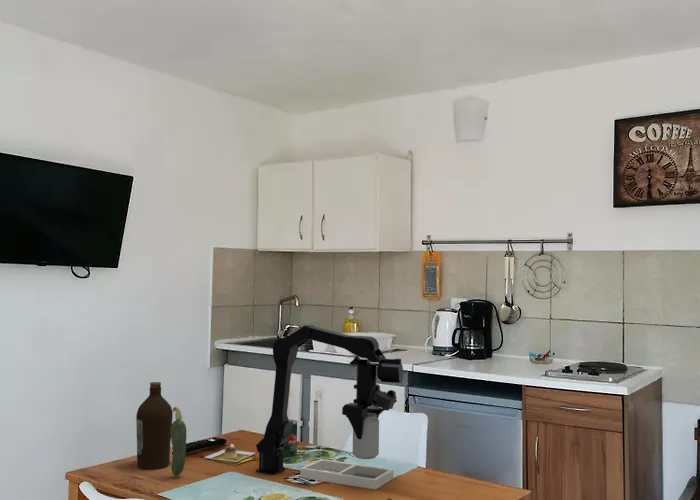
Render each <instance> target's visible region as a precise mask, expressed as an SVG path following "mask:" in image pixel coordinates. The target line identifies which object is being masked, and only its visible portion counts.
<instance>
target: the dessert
mask: <svg viewBox="0 0 700 500" xmlns="http://www.w3.org/2000/svg"><path fill="white" fill-rule="evenodd" d="M222 454H223V456H222V458H224V459H220V458H216V457H217V456H220V455H222ZM238 454H239V455H246V456H245V457H242V458H240V459H237V458H238ZM255 454H256V452H252V451H243V450H236V447H235V445H234V444H233V443H230V444H229V445H228V446H227V447H226V448H225V449H222V450H219V451H217V452H213V453H212V454H209V455H206V456H204V457H203V458H204V459H206V460H213V461H219V462H227V463H238V462H240V461H242V460H244V459H247V458H250V457H252V456H254V455H255ZM232 459H237V460H232Z"/></svg>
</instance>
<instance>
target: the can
mask: <svg viewBox="0 0 700 500" xmlns="http://www.w3.org/2000/svg"><path fill="white" fill-rule="evenodd" d="M366 415H369V416H368V417H367V418H366V419H365V420H364V425H363V433H362V439H357V436H356V434H355V432H354V430H353V429H352V455H353V456H354V457H355V459H360V460H372V459H376V457H377V456H379V454H380V453H379V452H380V451H379V450H380V419H379V417H378V418H377V414H374V413H367V414H366Z"/></svg>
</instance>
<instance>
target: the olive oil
mask: <svg viewBox="0 0 700 500" xmlns="http://www.w3.org/2000/svg"><path fill="white" fill-rule="evenodd" d="M161 386H162V383H161V382H160V381H152V382H150V383H149V395H148V396H147V398H145V400H144V401H143V402H142V403H141V404H140V405H139V407H138V409H137V412H136V417H135V419H136V425H135V426H136V467H137V468H138V469H140V470H146V471H150V470H151V471H152V470H153V471H155V470H160V469H164V468H165V469H166V468H167V467H168V466H169V465H170V458H171V455H170V454H171V444H172V442H171V425H172V423H173V419H174V418H173V417H174V415H173V413H174V412H173V408H172V406H171V404H170V403H169V402H168V401H167V400H166V399H165V398H164V397H163V395H162V387H161Z"/></svg>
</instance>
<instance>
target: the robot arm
mask: <svg viewBox="0 0 700 500" xmlns="http://www.w3.org/2000/svg"><path fill="white" fill-rule="evenodd" d="M309 340H310V341H315V342H318V343H322V344H326V345H330V346H334V347H337V348H342V349H344V350H346V351H348V352H349V353H351V354H353V355H355V356H354V358H353V359H352V360H351V361H350V362H349V365H350V366H356V384H353V389H355V390H356V393H355V394H356V396H355V397H356V398H354V399H353V402H349V403H345V404H344V405H343V406H342V407H341V408H342V409H341V414H342V415H343V416H345V417H346V418H347V420H348V422H349V423H350V425H351V428H352V431H353V430H354V432H355V434H356V436H357V439H362V433H363V425H364V420H365V419H366V418H367V417H368V416H369V415H366V414H367V413H374V414H377V418H378V419H379V418H380V415H382V413H383V412H385V411H390V410H393V408H394V406H395V404H396V403H397V402H398V400H397V399H398V398H397V393H396V391H395V390H393V389H389V390H388V391H387V392H386V391H383V390H381V386H380V384H377V383H378V382H377V381H378V380H380V382H381V383H391V384H402V383H403V380H404V375H405V374H404V372H405V371H404V370H405V369H404V367H403V363H402V358H387V357H386V356H385V355H384V354H383V352H382V350H381V349H380V345H379V342H378V340H377V338H375V337H374V336H370V335H369V336H367V335H366V336H365V335H349V334H344V333H342V332H337V331H333V330H330V329H327V328H326V329H325V328H321V327H318V326H314V325H313V324H308V325H303V326H302V327H301V328H299V329H298V330H296V331H294V332H292V333H290V334H288V335H287V336H285V337H279V338H277V339H276V340H274V342H273V344H272V358H273V361H274V364H275V373H274V374H275V376H274V386H273V397H272V407H271V415H270V418H269V420H268V422H267V424H266V427H265V430H264V433H263V438H262V439H261V440H260V441H259V442H258V443H257V444H256V445H255V447H256V450H257V453H258V456H259V457H258V468H257V469H255V472H257V473H262V474H268V475H276V474H278V473H280V472H283V471H285V470H286V468H285V467H284V459H283V458H284V456H283V455H282V450H281V449H280V448H283V447H284V444H285V442H286V441H288V440H289V438H290V435H292V434H293V433H292V426H293V421H289V420H288V419H289V417H288V407H289V406H288V405H289V399H290V398H289V397H290V388H291V387H290V386H291V378H292V376H291V375H292V367H293V365H294V363H295V361H296V358H297V355H298V352H299V348H301V347H302V346H303V345H305V344H306V343H307V342H308V341H309ZM377 379H378V380H377Z"/></svg>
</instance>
